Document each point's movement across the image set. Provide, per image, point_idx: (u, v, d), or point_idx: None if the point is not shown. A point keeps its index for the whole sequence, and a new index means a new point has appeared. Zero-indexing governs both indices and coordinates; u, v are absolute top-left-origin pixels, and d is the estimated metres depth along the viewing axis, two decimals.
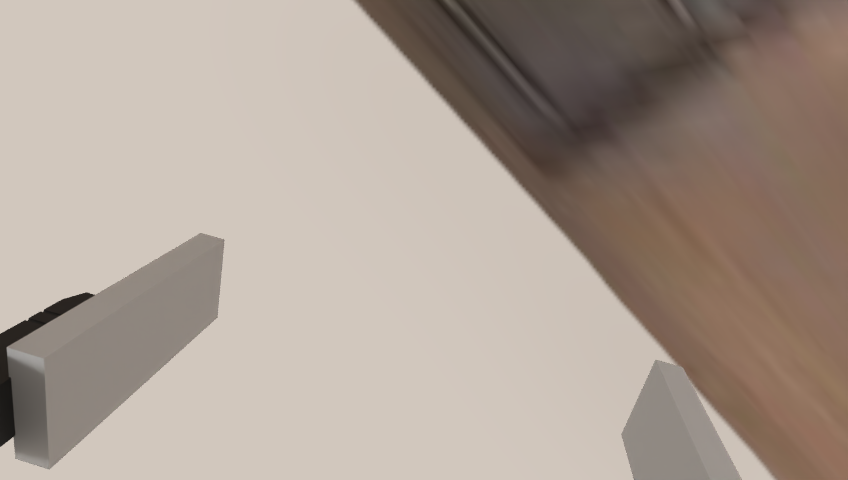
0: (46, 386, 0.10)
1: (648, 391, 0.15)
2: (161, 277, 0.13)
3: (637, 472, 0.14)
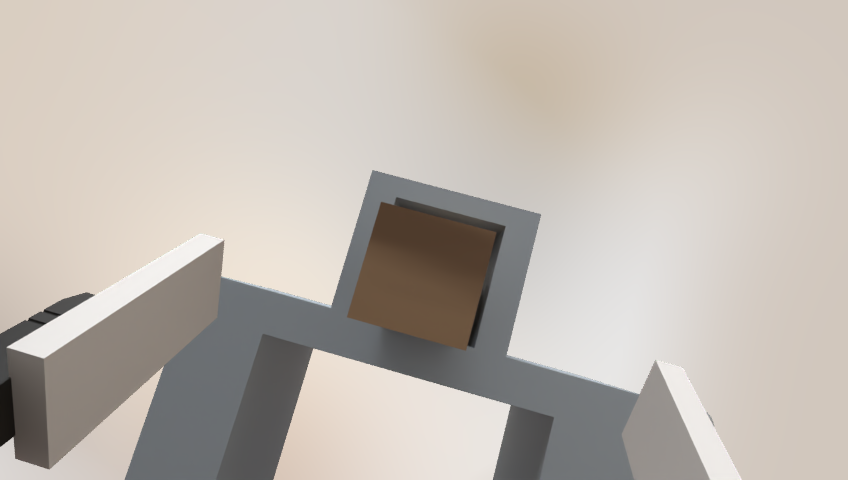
0: (46, 386, 0.10)
1: (648, 391, 0.15)
2: (161, 277, 0.13)
3: (637, 472, 0.14)
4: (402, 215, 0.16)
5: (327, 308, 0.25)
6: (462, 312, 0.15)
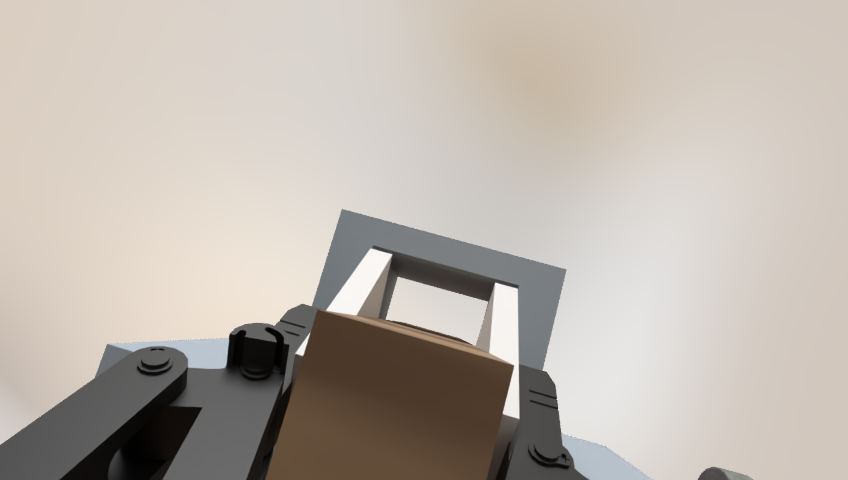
0: None
1: (487, 309, 0.17)
2: (366, 290, 0.15)
3: None
4: (353, 334, 0.09)
5: None
6: None
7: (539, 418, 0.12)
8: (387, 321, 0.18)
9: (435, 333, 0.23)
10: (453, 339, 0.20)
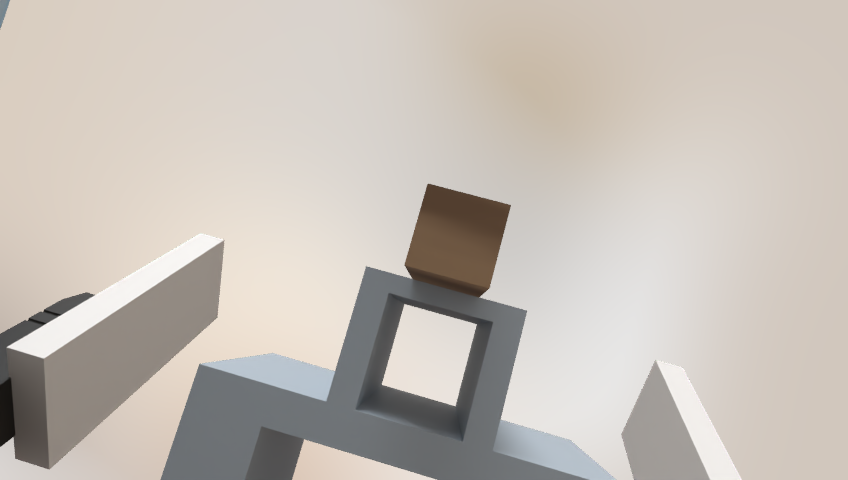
0: (46, 386, 0.10)
1: (648, 391, 0.15)
2: (161, 277, 0.13)
3: (637, 472, 0.14)
4: (443, 193, 0.22)
5: (322, 402, 0.26)
6: (486, 261, 0.21)
7: None
8: None
9: None
10: None
